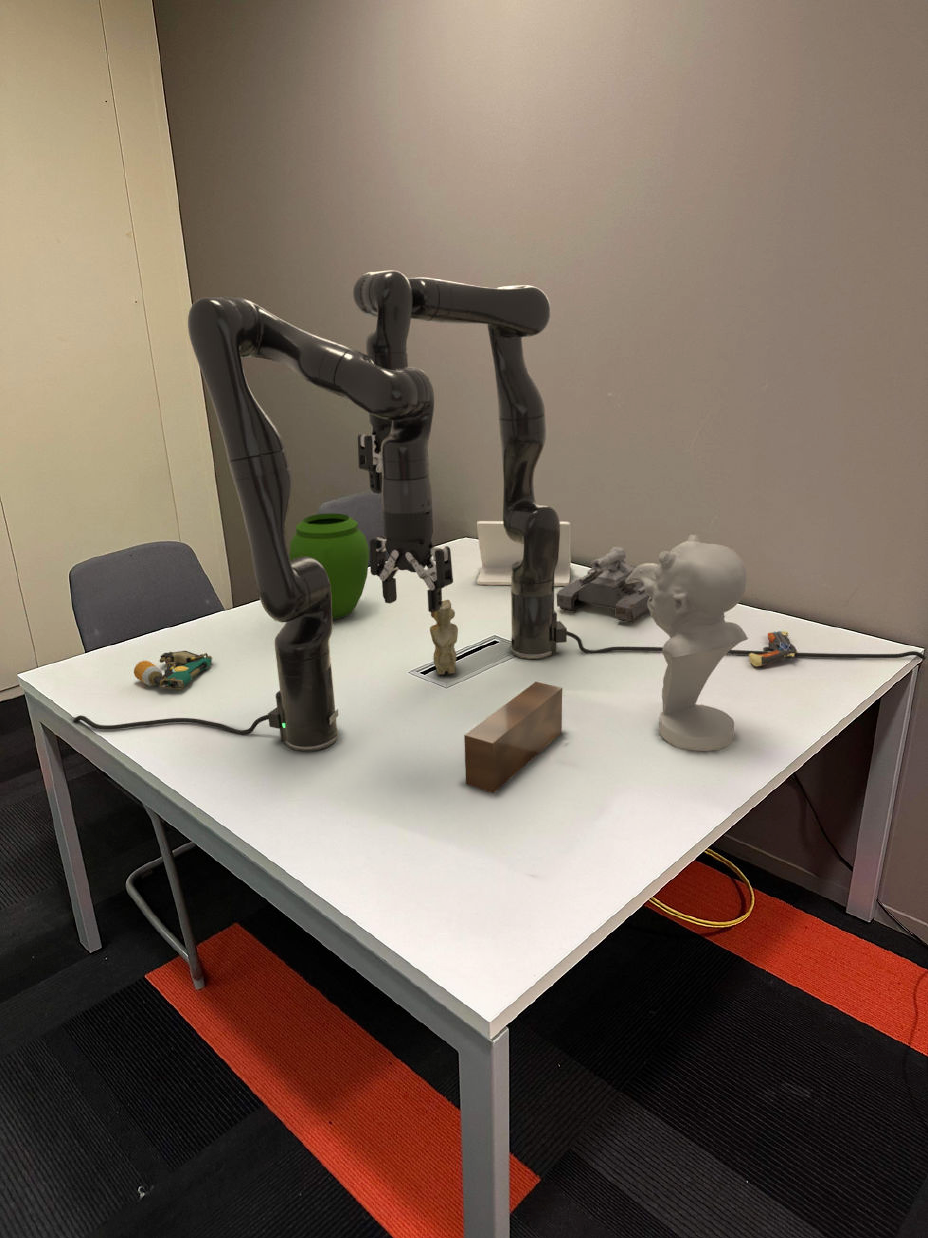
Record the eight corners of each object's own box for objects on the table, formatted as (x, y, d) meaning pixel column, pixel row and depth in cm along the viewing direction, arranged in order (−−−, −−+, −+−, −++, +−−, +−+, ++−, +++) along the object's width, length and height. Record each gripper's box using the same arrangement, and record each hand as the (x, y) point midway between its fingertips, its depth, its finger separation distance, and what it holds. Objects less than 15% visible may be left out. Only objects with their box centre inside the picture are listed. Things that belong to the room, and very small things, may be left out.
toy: (603, 584, 229) (605, 530, 224) (673, 597, 218) (677, 540, 213) (555, 612, 210) (556, 553, 205) (630, 627, 199) (633, 566, 194)
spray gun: (177, 659, 191) (231, 671, 185) (120, 684, 176) (176, 698, 171) (176, 641, 190) (230, 653, 184) (118, 665, 175) (174, 678, 169)
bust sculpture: (666, 688, 168) (677, 514, 156) (759, 738, 148) (779, 544, 136) (600, 707, 161) (606, 527, 149) (688, 763, 141) (703, 560, 129)
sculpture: (458, 662, 183) (456, 596, 178) (460, 676, 176) (457, 608, 171) (431, 663, 183) (428, 597, 177) (431, 677, 176) (428, 609, 171)
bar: (535, 725, 156) (535, 681, 152) (561, 733, 153) (562, 687, 150) (465, 784, 138) (464, 735, 134) (493, 793, 135) (492, 743, 132)
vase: (389, 608, 216) (383, 514, 208) (339, 633, 201) (330, 533, 192) (330, 596, 226) (322, 506, 218) (278, 619, 211) (267, 523, 202)
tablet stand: (569, 585, 229) (570, 524, 223) (476, 584, 232) (475, 523, 226) (570, 566, 246) (571, 508, 240) (484, 564, 249) (483, 507, 243)
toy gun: (751, 657, 175) (803, 654, 173) (740, 630, 193) (787, 626, 191) (752, 670, 176) (803, 667, 174) (741, 641, 194) (787, 638, 192)
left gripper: (354, 505, 130) (362, 606, 135) (431, 516, 122) (435, 621, 128) (385, 496, 135) (391, 592, 141) (460, 505, 128) (463, 606, 134)
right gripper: (372, 401, 140) (380, 498, 146) (434, 392, 150) (438, 483, 155) (343, 399, 145) (351, 493, 151) (404, 390, 154) (410, 479, 160)
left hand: (412, 606), depth 135 cm, fingers open, 8 cm apart
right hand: (395, 488), depth 153 cm, fingers open, 8 cm apart
